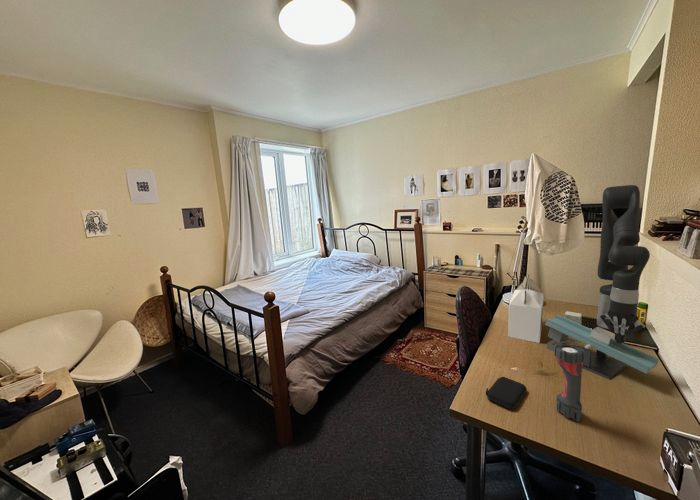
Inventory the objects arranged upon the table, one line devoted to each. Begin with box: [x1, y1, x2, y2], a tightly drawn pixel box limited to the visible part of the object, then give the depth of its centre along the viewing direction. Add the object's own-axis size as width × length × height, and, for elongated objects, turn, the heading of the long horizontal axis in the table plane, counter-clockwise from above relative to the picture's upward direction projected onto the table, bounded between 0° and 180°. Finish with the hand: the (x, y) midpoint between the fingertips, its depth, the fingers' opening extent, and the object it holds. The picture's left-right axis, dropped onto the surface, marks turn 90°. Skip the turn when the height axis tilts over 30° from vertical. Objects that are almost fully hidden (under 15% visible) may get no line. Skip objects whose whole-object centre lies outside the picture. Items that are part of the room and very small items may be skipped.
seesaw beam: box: [545, 314, 660, 374], centre depth 117 cm, size 14×34×9 cm, turn 27°
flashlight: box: [553, 341, 585, 423], centre depth 92 cm, size 8×8×23 cm
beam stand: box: [546, 339, 628, 380], centre depth 121 cm, size 15×24×8 cm, turn 27°
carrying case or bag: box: [485, 376, 528, 410], centre depth 104 cm, size 11×3×15 cm
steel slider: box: [590, 326, 615, 347], centre depth 113 cm, size 5×6×5 cm
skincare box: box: [563, 311, 583, 341], centre depth 136 cm, size 6×4×12 cm
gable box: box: [507, 274, 545, 344], centre depth 145 cm, size 22×13×28 cm, turn 144°
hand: (619, 342), depth 109 cm, fingers closed
